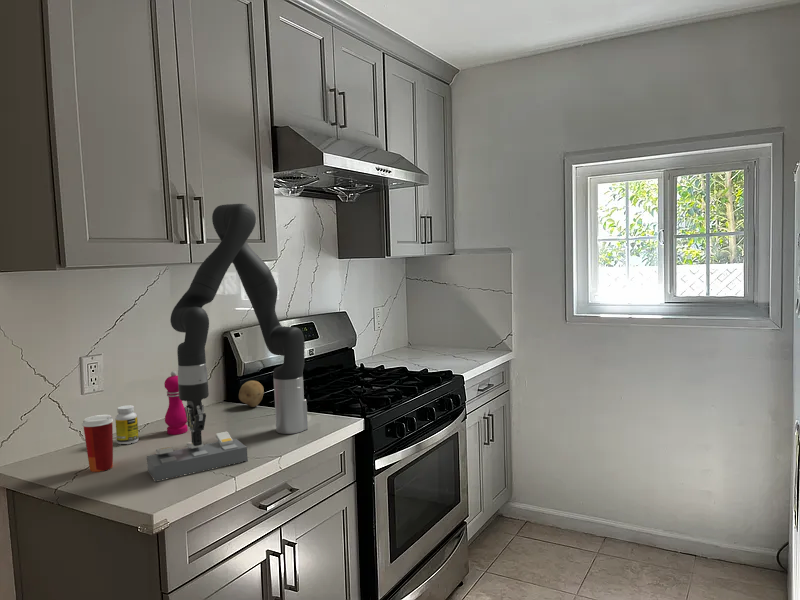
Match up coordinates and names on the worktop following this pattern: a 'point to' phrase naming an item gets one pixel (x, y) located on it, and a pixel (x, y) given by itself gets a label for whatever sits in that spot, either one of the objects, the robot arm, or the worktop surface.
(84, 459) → the worktop surface
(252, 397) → the brown potato
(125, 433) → the pill bottle
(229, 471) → the worktop surface
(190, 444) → the rocker middle
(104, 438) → the paper cup
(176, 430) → the pepper mill
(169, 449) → the rocker
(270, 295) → the robot arm
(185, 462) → the rocker switch box
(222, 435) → the rocker
